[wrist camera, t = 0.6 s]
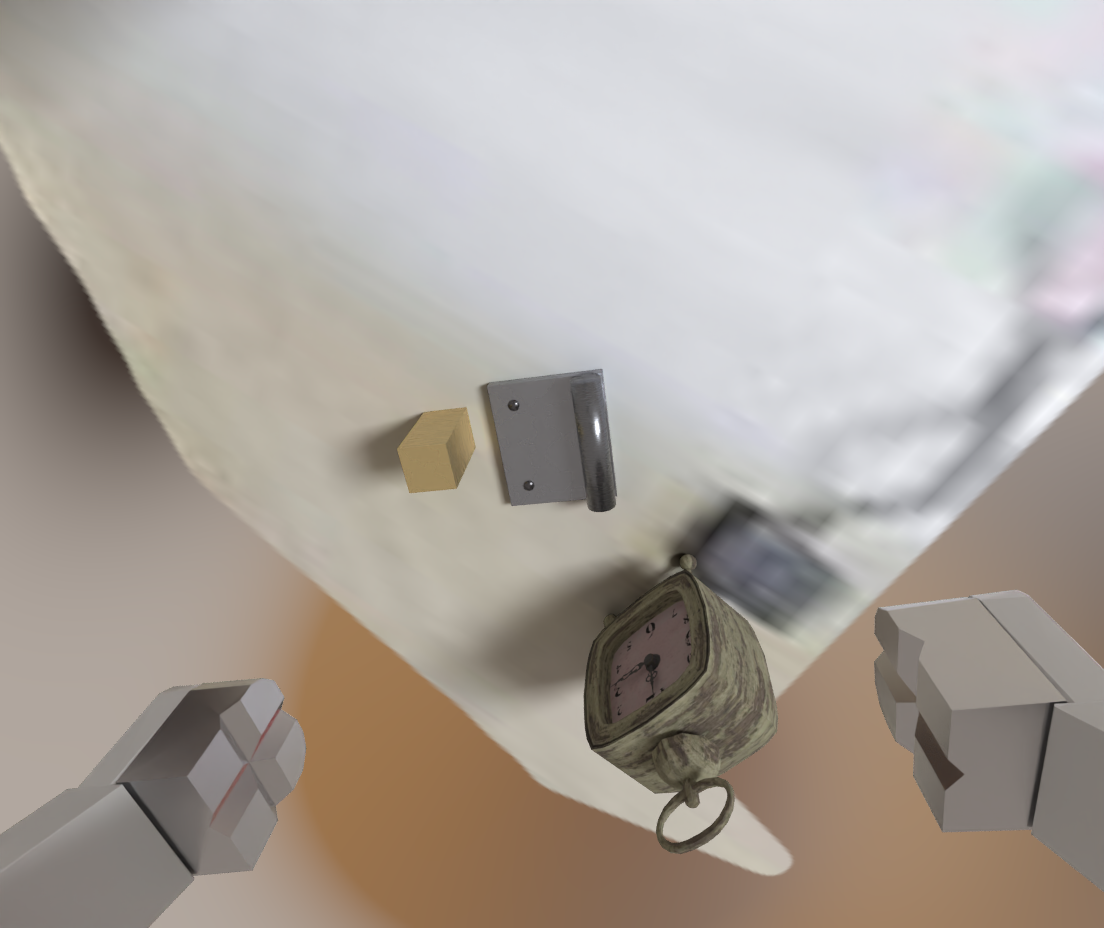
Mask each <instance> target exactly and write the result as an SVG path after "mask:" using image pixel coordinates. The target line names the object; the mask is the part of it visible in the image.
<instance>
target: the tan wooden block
mask: <svg viewBox="0 0 1104 928" xmlns="http://www.w3.org/2000/svg"><path fill="white" fill-rule="evenodd" d="M474 450H475V443H474V438H473V434H472V430H471V425H470V421H469V416H468V412H467V407H465V408H456V409H447V410H439V411H430V412H424V413H423V414H422V416H421V417H420V418H419V420H418V421H417V422H416V424H415V425H414V427H413V428H412V429H411V431H410V432H409V433H408V435H407V436H406V437H405V439H404V440H403V442H402V443H401V444H400V446H399V447H398V448H397V451H398V455H399V458H400V462H401V465H402V469H403V472H404V475H405V479H406V482H407V486H408V489H409V493H417V492H427V491H437V490H447V489H457V487H458V485H459V482H460V480H461V478H462V476H463V474H464V472H465V469H466V467H467V465H468V463H469V461H470V458H471V456H472V454H473V452H474Z"/></svg>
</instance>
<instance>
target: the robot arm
mask: <svg viewBox="0 0 1104 928" xmlns="http://www.w3.org/2000/svg"><path fill="white" fill-rule="evenodd" d="M874 634H875V635H876V637H877V639H878V641H879V642H880V644H881V646H882V647H883V649H884V651H883V652H882V654H880V656H879V657H878V658H877V659H876V660H875V661H874V667H875V685H876V689H877V694H878V699H879V703H880V707H881V709H882V712H883V715H884V717H885V720H886V722H887V725H888V727H889V729H890V731H891V733H892V735H893V737H894V739H895V741H896V742H897V743H899V744H900V745H901V746H903V747H904V748H906V749H907V750H909V751H910V752H912V753H913V754H914V767H913V769H914V770H913V776H914V778H915V780H916V782H917V784H918V786H919V788H920V790H921V792H922V794H923V796H924V798H925V799H926V801H927V803H928V805H929V807H930V809H931V811H932V813H933V815H934V817H935V819H936V820H937V823H938V824H939V826H940V828H941V830H942V832H967V831H999V830H1000V831H1001V830H1032V832H1031V834H1032V835H1033V836H1034V837H1035V838H1037V839H1038V840H1039V841H1040V842H1042V843H1043V844H1044V845H1046V846H1047V847H1048V848H1049V849H1051V850H1052V851H1053V852H1054V853H1056V854H1057V855H1058V856H1059V857H1061V858H1062V859H1063V860H1064V861H1066V862H1067V863H1068V864H1069V865H1071V866H1072V867H1073V868H1074V869H1076V870H1077V871H1078V872H1079V873H1081V874H1082V875H1083V876H1084V877H1086V878H1087V879H1088V880H1089V881H1091V882H1092V883H1093V884H1095V885H1096V886H1097V887H1098V888H1099V889H1101V890H1102V891H1103V892H1104V669H1103V668H1102V667H1101V666H1100V665H1099V664H1098V663H1097V662H1096V661H1095V660H1094V659H1093V658H1092V657H1091V656H1090V655H1089V654H1088V653H1087V652H1086V651H1085V650H1084V649H1083V648H1082V647H1081V646H1079V644H1078V643H1077V642H1076V641H1075V640H1073V638H1071V636H1069V635H1068V634H1067V633H1066V632H1065V631H1064V630H1063V629H1062V628H1061V627H1060V626H1059V625H1058V624H1057V623H1056V622H1055V621H1054V620H1053V619H1052V618H1051V617H1050V616H1049V615H1048V614H1047V613H1046V612H1045V611H1044V610H1043V609H1042V608H1041V607H1040V606H1039V605H1038V604H1037V603H1036V602H1035V601H1034V600H1033V599H1032V598H1031V597H1030V596H1029V595H1028V594H1025V593H1023V592H1021V591H1019V590H1011V591H1003V592H996V593H988V594H980V595H973V596H969V597H968V598H964V597H962V598H954V599H946V600H938V601H930V602H921V603H913V604H906V605H897V606H889V607H880V608H878V610H877V613H876V615H875V633H874ZM283 700H284V696H283V694H282V693H281V691H280V689H279V688H278V686H277V685H276V683H275V681H274V680H269V679H263V678H259V679H248V680H236V681H225V682H213V683H203V684H201V685H189V686H176V687H172V688H169V689H168V690H165V691H163V692H161V693H159V694H158V695H157V697H156V698H155V699H154V700H153V701H152V702H151V704H150V705H149V706H148V707H147V708H146V710H144V712H143V713H142V714H141V715H140V716H139V717H138V719H137V720H136V721H135V722H134V723H133V724H132V725H131V727H130V728H129V729H128V730H127V731H126V732H125V734H124V735H123V736H122V737H121V738H120V740H119V741H118V742H117V743H116V744H115V745H114V746H113V748H112V749H111V750H110V751H109V752H108V753H107V754H106V755H105V757H104V758H103V759H102V760H101V761H100V762H99V764H98V765H97V766H96V767H95V768H94V769H93V771H92V772H91V773H90V774H89V775H88V776H87V777H86V779H85V780H84V781H83V782H82V783H81V784H80V785H79V787H78V788H72V789H67V790H65V791H64V792H62V793H61V794H59V795H58V796H56V797H55V798H53V799H52V800H51V801H49V802H47V803H46V804H45V805H43V806H42V807H40V808H39V809H37V810H36V811H34V812H33V813H31V814H30V815H28V816H27V817H26V818H24V819H23V820H21V821H19V822H18V823H16V824H15V825H13V826H12V827H11V828H9V829H8V830H6V831H5V832H3V833H2V834H0V928H149V927H150V925H151V924H152V923H153V922H154V921H155V920H156V919H157V918H158V917H159V916H160V915H161V914H162V913H163V912H164V911H165V910H166V909H167V908H168V907H169V906H170V904H172V902H173V901H174V900H175V899H176V898H177V897H178V896H179V895H180V894H181V893H182V892H183V891H184V890H185V889H186V888H187V887H188V886H189V885H190V884H191V883H192V882H193V881H194V877H193V876H197V875H207V874H218V873H229V872H240V871H251V870H253V868H254V866H255V864H256V862H257V860H258V858H259V857H260V855H261V852H262V851H263V849H264V847H265V845H266V843H267V841H268V839H269V837H270V835H271V833H272V831H273V829H274V827H275V825H276V823H277V821H278V818H277V811H276V805H277V804H278V803H279V802H280V801H281V800H282V799H284V798H285V797H286V796H287V795H288V794H289V793H290V792H291V791H292V790H293V789H294V787H295V785H296V783H297V781H298V779H299V777H300V775H301V773H302V771H303V766H304V759H305V753H306V744H305V739H304V733H303V731H302V729H301V727H300V725H299V723H298V721H297V719H295V718H293V717H292V716H290V715H289V714H287V713H286V712H284V711H283V710H281V707H282V704H283Z"/></svg>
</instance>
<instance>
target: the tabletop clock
mask: <svg viewBox="0 0 1104 928" xmlns="http://www.w3.org/2000/svg"><path fill="white" fill-rule="evenodd" d="M680 566H681V568H682V569H684V570H683V571H681V572H678V573H676V574H674V575H672V576H670V577H669V578H667V579H666V580H664V581H663V582H661V583H660V584H658V585H657V586H656V587H654V588H653V589H651V590H650V591H649V592H647V593H646V594H644V595H643V596H642V597H640V598H639V599H637V600H636V601H635V602H634V603H633V604H632V605H630V606H629V607H628V608H627V609H626V610H625V611H623V612H622V613H621V614H620V615H619V616H617V617H616V616H615V615H608V616H606V618H605V619H604V625H605V628H604V629H603V630H602V632H601V633H600V634H599V635H598V636H597V638H596V639H595V640H594V641H593V644H592V647H591V650H590V653H589V658H588V663H587V669H586V679H585V689H584V720H585V731H586V737H587V740H588V743H589V745H590V748H591V750H593V751H594V752H596V753H597V754H599V755H600V756H601V757H603V758H604V759H606V760H607V761H609V762H610V763H611V764H613V765H614V766H616V767H617V768H619V769H620V770H622V771H623V772H624V773H626V774H627V775H629V776H630V777H632V778H633V779H635V780H636V781H637V782H639V783H640V784H642V785H643V786H645V787H646V788H648V789H649V790H650V791H652V792H653V793H673V792H679V793H677V794H676V795H675V796H674V797H673V798H672V799H671V800H670V801H669V802H668V804H667V805H666V806H665V807H664V808H663V811H662V813H661V815H660V817H659V819H658V823H657V827H656V834H657V838H658V841H659V843H660V845H661V846H662V847H663V848H664V849H666V850H667V851H669V852H670V853H678V854H682V853H685V852H688V851H692V850H695V849H696V848H698V847H700V846H702V845H704V844H706V843H708V842H709V841H710V840H711V839H713V838H714V837H715V836H716V835H718V834H719V833H720V832H721V830H722V829H723V828H724V826H725V825H726V824H727V822H728V820H729V818H730V816H731V813H732V811H733V807H734V790H733V788H732V786H731V785H730V784H729V782H728V781H726V780H724V779H721V778H719V777H717V776H719V775H721V774H723V773H725V772H727V771H728V770H730V769H731V768H732V767H734V766H736V765H737V764H739V763H740V762H742V761H743V760H745V759H746V758H748V757H749V756H751V755H752V754H754V753H755V752H757V751H758V750H760V749H761V748H762V747H764V746H765V745H766V744H767V743H768V742H769V741H770V739H771V738H772V737H773V736H774V734H775V733H776V732H777V722H778V715H777V706H776V701H775V697H774V693H773V689H772V685H771V681H770V676H769V672H768V668H767V664H766V659H765V655H764V653H763V651H762V648H761V646H760V644H759V641H758V639H757V637H756V635H755V632H754V630H753V629H752V627H751V626H750V624H749V623H748V621H747V620H746V619H745V618H743V617H742V616H741V615H740V614H739V613H738V612H736V611H735V610H734V609H733V608H732V607H730V606H729V605H728V604H727V603H726V602H724V601H723V600H722V599H721V598H720V597H718V596H717V595H716V594H715V593H714V592H712V591H711V590H710V589H709V588H708V587H706V586H705V585H704V584H703V583H702V582H701V581H699V580H698V579H697V578H696V577H695V576H693V575H692V572H691V571H692V570H694V569H695V567H696V559H695V557H694V556H692V555H690V554H686V555H684V556H682V557H681V559H680ZM716 786H718V787H724V788H725V789H726V791H727V801H726V804H725V807H724V808H723V810H722V812H721V814H720V816H719V817H718V818H717V819H716V820H715V822H714V823H713V824H712V825H711V826H709V827H708V828H707V829H705V830H704V831H703V832H701V833H700V834H698V835H696V836H694V837H692V838H691V839H688V840H686V841H683V842H680V843H671V842H669V841H667V840H666V839H665V838H664V836H663V826H664V823H665V821H666V820H667V818H668V817H669V815H670V814H671V813H672V812H673V811H674V810H675V809H676V808H677V807H678V806H679V805H680V804H682V803H683V802H685V803H686V805H687V806H688V807H690V808H696V807H697V806H698V805H699V804H700V801H699V795H698V793H700V792H702V791H704V790H706V789H708V788H712V787H716Z"/></svg>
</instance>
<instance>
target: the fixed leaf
mask: <svg viewBox="0 0 1104 928" xmlns="http://www.w3.org/2000/svg"><path fill="white" fill-rule="evenodd" d="M487 389H488V394H489V398H490V403H491V408H492V413H493V418H494V423H495V428H496V432H497V437H498V442H499V447H500V452H501V457H502V462H503V466H504V471H505V476H506V481H507V486H508V491H509V496H510V500H511V505H512V506H517V505H528V504H539V503H549V502H560V501H571V500H582V499H587V505H588V508H589V509H590V510H591V511H594V512H605V511H608V510H611V509H613V508H614V507H615V505H616V499H615V496H617V490H616V481H615V473H614V464H613V456H612V447H611V439H610V430H609V422H608V413H607V405H606V396H605V388H604V379H603V371H602V369H598V370H590V371H582V372H574V373H565V374H557V375H549V376H541V377H532V378H524V379H516V380H508V381H499V382H491V383H489V384H488V386H487Z"/></svg>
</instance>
